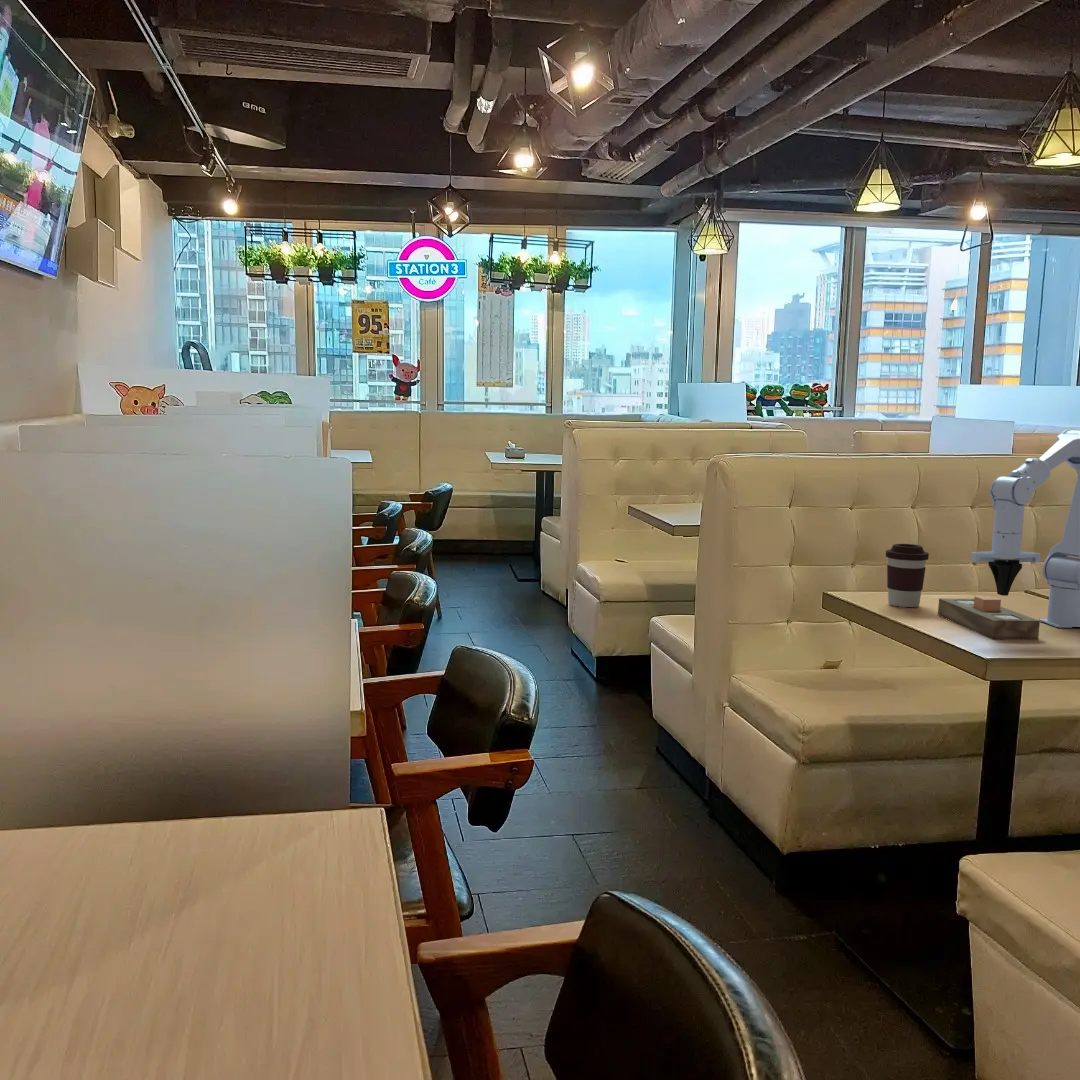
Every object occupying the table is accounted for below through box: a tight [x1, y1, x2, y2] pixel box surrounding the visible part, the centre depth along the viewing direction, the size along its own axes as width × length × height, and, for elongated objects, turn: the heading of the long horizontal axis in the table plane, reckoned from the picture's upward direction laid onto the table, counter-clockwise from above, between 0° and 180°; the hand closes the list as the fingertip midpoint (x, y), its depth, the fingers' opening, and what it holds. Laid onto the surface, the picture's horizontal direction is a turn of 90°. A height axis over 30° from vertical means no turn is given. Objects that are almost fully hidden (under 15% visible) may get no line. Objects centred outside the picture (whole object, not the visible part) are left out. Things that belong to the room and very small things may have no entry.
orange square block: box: [973, 595, 1002, 611], centre depth 223 cm, size 4×4×3 cm
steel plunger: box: [957, 601, 974, 604], centre depth 232 cm, size 4×4×3 cm
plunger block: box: [937, 597, 1041, 640], centre depth 224 cm, size 10×25×4 cm, turn 4°
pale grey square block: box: [993, 615, 1019, 619], centre depth 215 cm, size 4×4×3 cm
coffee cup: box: [885, 543, 930, 608], centre depth 247 cm, size 10×10×15 cm
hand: (1002, 594), depth 217 cm, fingers closed
